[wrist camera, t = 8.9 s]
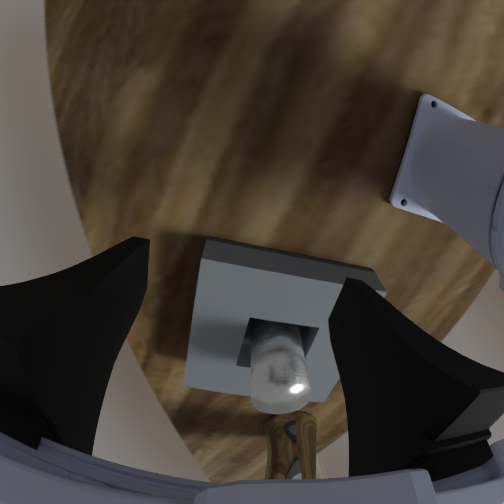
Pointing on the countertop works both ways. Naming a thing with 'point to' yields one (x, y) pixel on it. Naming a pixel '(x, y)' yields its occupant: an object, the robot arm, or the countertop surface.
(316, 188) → the countertop surface
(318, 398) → the hole block
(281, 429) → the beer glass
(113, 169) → the countertop surface
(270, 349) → the peg
